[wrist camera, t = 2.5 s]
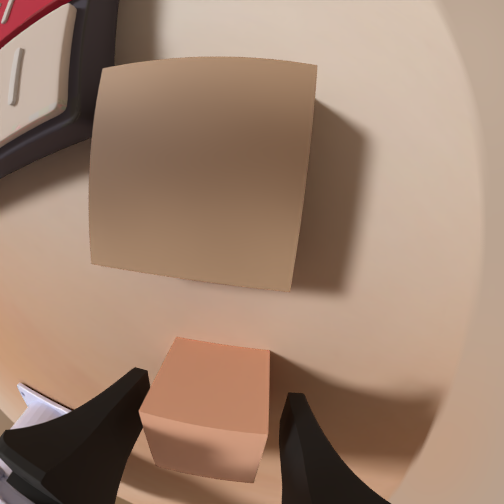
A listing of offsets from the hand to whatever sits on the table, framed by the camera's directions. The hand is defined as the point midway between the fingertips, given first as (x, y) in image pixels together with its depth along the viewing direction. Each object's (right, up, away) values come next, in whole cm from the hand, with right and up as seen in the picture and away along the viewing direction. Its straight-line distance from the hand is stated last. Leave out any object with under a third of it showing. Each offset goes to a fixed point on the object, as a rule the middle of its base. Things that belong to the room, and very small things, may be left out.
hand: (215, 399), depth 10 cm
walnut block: (0, +9, -1) cm, 9 cm away
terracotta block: (0, 0, +1) cm, 2 cm away
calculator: (-12, +16, -2) cm, 20 cm away
